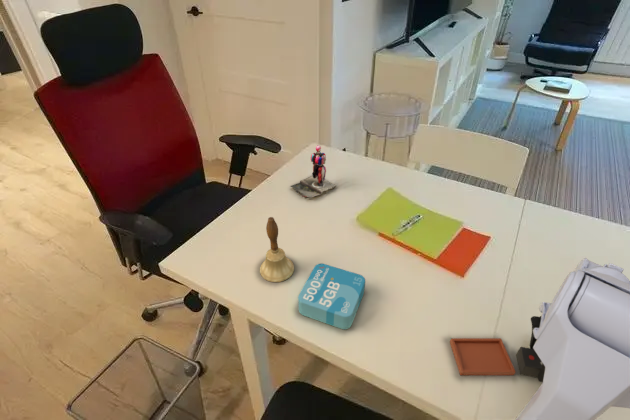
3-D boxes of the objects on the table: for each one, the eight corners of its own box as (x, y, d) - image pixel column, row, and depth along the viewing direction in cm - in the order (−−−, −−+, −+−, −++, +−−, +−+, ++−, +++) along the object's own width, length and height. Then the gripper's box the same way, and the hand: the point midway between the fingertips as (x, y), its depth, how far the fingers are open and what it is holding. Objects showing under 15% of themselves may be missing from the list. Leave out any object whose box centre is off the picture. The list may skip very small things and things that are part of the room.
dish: (499, 341, 75) (501, 338, 74) (513, 375, 69) (515, 372, 69) (449, 341, 75) (450, 338, 74) (460, 375, 69) (461, 372, 69)
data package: (350, 319, 74) (295, 300, 77) (349, 332, 77) (296, 313, 80) (367, 276, 82) (317, 261, 86) (365, 289, 85) (317, 274, 89)
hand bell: (260, 284, 86) (253, 233, 76) (259, 258, 93) (252, 209, 83) (296, 280, 87) (293, 229, 77) (292, 255, 94) (289, 205, 84)
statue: (315, 179, 123) (318, 136, 114) (335, 191, 117) (340, 147, 109) (289, 189, 116) (291, 144, 108) (309, 202, 111) (313, 155, 102)
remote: (554, 362, 71) (560, 353, 70) (560, 382, 68) (567, 373, 66) (515, 355, 73) (520, 346, 71) (519, 374, 70) (525, 365, 68)
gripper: (533, 283, 67) (509, 327, 76) (557, 356, 56) (525, 398, 65) (576, 289, 66) (546, 333, 75) (608, 365, 55) (569, 407, 64)
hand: (539, 364), depth 70 cm, fingers open, 6 cm apart
